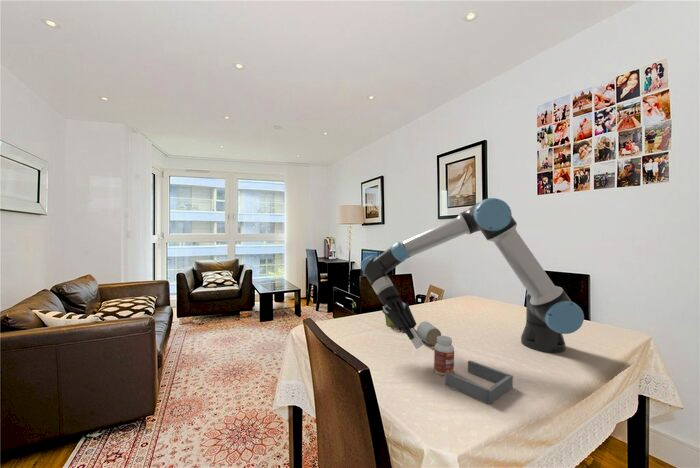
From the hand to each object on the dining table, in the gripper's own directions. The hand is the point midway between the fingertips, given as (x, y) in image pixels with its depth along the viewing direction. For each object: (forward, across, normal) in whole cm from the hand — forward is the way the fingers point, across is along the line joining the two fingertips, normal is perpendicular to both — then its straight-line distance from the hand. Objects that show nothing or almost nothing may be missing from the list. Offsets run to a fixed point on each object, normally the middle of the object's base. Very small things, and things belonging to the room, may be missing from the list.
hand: (419, 346), depth 107 cm
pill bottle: (+11, 0, +3) cm, 11 cm away
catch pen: (+19, 0, +11) cm, 22 cm away
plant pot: (-20, -24, -28) cm, 42 cm away
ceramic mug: (-2, -19, -10) cm, 22 cm away
